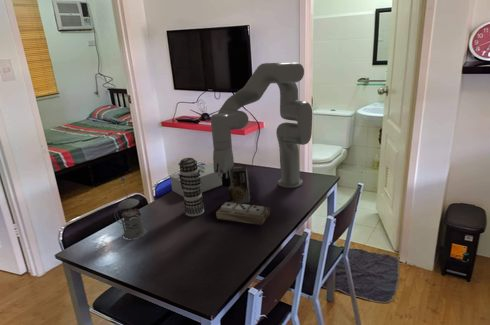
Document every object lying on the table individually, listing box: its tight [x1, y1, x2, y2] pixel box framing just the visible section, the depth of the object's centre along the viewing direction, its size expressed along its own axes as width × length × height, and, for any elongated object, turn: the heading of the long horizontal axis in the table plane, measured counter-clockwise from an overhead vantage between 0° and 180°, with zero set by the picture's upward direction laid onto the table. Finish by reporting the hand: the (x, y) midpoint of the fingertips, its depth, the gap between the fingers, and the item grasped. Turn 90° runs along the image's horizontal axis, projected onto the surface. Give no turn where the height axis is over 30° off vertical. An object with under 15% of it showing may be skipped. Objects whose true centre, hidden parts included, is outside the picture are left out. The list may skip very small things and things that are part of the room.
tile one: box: [220, 201, 237, 212], centre depth 151 cm, size 5×5×3 cm
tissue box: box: [169, 162, 222, 198], centre depth 183 cm, size 14×25×11 cm, turn 129°
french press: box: [113, 176, 148, 239], centre depth 139 cm, size 10×12×25 cm
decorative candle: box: [178, 157, 205, 217], centre depth 153 cm, size 9×9×25 cm
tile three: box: [235, 203, 251, 214], centre depth 149 cm, size 5×5×3 cm
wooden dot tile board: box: [215, 203, 271, 226], centre depth 149 cm, size 10×21×3 cm, turn 66°
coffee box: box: [227, 165, 251, 204], centre depth 162 cm, size 9×6×16 cm
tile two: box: [249, 204, 265, 216], centre depth 146 cm, size 5×5×3 cm
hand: (226, 185), depth 148 cm, fingers closed
